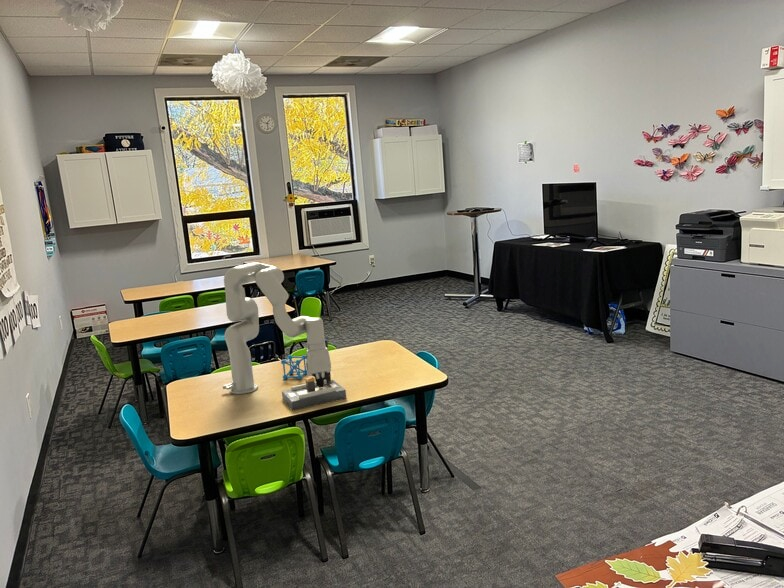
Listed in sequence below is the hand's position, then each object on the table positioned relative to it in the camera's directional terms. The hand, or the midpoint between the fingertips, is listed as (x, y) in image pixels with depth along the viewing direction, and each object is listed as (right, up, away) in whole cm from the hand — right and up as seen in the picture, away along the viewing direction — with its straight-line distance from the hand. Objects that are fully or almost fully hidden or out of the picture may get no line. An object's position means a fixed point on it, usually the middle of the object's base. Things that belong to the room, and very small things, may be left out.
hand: (320, 386), depth 258 cm
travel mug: (-1, -2, +19) cm, 19 cm away
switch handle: (-4, -1, -2) cm, 4 cm away
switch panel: (-3, -5, -1) cm, 6 cm away
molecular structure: (-16, -1, +33) cm, 36 cm away
